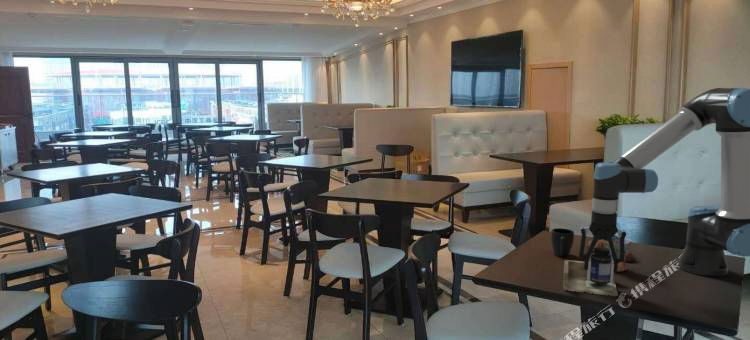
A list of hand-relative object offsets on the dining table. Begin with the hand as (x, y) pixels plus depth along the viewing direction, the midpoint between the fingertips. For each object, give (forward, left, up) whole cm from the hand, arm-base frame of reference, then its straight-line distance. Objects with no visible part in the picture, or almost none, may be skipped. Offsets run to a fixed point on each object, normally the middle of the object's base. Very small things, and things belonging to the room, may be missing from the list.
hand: (599, 280), depth 174 cm
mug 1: (+12, -30, -3) cm, 33 cm away
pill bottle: (0, 0, -1) cm, 1 cm away
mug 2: (-6, -22, -3) cm, 23 cm away
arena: (+3, 0, -2) cm, 4 cm away
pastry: (-5, -39, -3) cm, 40 cm away
